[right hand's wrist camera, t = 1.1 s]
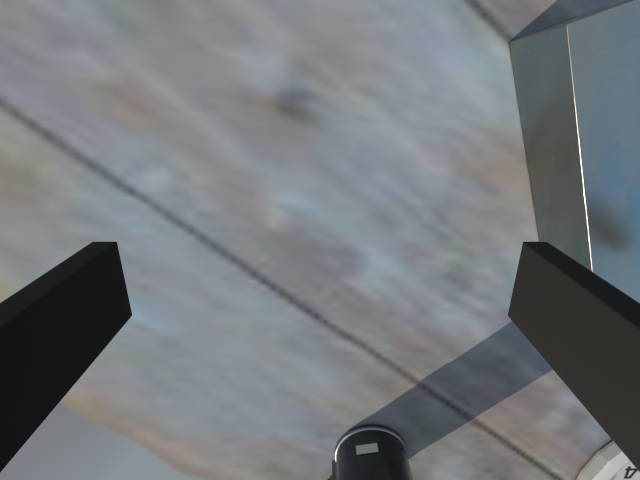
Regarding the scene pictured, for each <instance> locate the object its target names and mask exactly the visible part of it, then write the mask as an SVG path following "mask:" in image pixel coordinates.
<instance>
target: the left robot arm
mask: <svg viewBox="0 0 640 480" xmlns="http://www.w3.org/2000/svg"><path fill="white" fill-rule="evenodd" d="M328 480H413V478H412V474H411V470H410V466H409V462H408V458H407V451H406V446H405V443H404V441H403V439H402V438H401V437H400V435H398V434H397V433H396V432H395V431H393V430H391V429H389V428H386V427H383V426H377V425H367V426H361V427H358V428H355V429H352V430H351V431H349V432H347V433H346V434H345V435H343V436H342V437H341V439H340V440H339V441H338V443H337V445H336V448H335V460H334V461H333V462H332V476H331V477H330V478H329V479H328Z"/></svg>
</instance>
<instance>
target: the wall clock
mask: <svg viewBox="0 0 640 480" xmlns="http://www.w3.org/2000/svg"><path fill="white" fill-rule="evenodd" d="M576 480H640V472H639V471H638V470H637V468H636V467H635V466H634V465H633V464H632V462H631V461H630V460H629V459H628V458H627V457H626V455H625V454H624V453H623V452H622V451H621V449H620V448H619V447H618V446H617V445H616V443H615V442H614V441H612V442H610V443H609V444H608V445H606V446H605V447H604V448H602V449H601V450H599V451H598V452H597V453H596V454H595V456H594V457H593V458H592V459H591V460H590V461H589V462H588V463H587V465H586V466H585V467H584V468H583V469H582V470H581V471H580V473H579V475H578V477H577V479H576Z"/></svg>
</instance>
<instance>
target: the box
mask: <svg viewBox="0 0 640 480" xmlns="http://www.w3.org/2000/svg"><path fill="white" fill-rule="evenodd" d="M509 48H510V55H511V61H512V68H513V74H514V81H515V87H516V94H517V100H518V107H519V114H520V120H521V127H522V133H523V140H524V146H525V153H526V159H527V166H528V172H529V179H530V185H531V192H532V198H533V205H534V211H535V218H536V224H537V231H538V237H539V242H548V243H549V244H551V245H553V246H554V247H556V248H557V249H559V250H560V251H562V252H563V253H565V254H566V255H568V256H569V257H571V258H572V259H574V260H575V261H577V262H578V263H580V264H581V265H583V266H584V267H586V268H587V269H589V270H590V271H592V272H593V273H595V274H596V275H598V276H599V277H601V278H602V279H604V280H605V281H607V282H608V283H610V284H611V285H613V286H614V287H616V288H617V289H619V290H620V291H622V292H623V293H625V294H626V295H628V296H629V297H631V298H632V299H634V300H635V301H637V302H639V303H640V0H628V1H625V2H622V3H619V4H616V5H612V6H609V7H606V8H603V9H600V10H597V11H594V12H591V13H587V14H584V15H581V16H578V17H575V18H573V19H570V20H567V21H564V22H562V23H559V24H556V25H553V26H551V27H548V28H545V29H542V30H540V31H537V32H534V33H531V34H529V35H526V36H523V37H520V38H518V39H515V40H512V41H510V42H509Z"/></svg>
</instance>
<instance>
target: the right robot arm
mask: <svg viewBox="0 0 640 480" xmlns="http://www.w3.org/2000/svg"><path fill="white" fill-rule="evenodd" d="M131 316H132V312H131V308H130V303H129V298H128V293H127V289H126V284H125V279H124V274H123V270H122V265H121V260H120V255H119V250H118V246H117V242H92V243H91V244H89V245H87V246H86V247H84V248H83V249H81V250H80V251H78V252H77V253H75V254H74V255H72V256H71V257H69V258H68V259H66V260H65V261H63V262H62V263H60V264H59V265H57V266H56V267H54V268H53V269H51V270H50V271H48V272H47V273H45V274H44V275H42V276H41V277H39V278H38V279H36V280H35V281H33V282H32V283H30V284H29V285H27V286H26V287H24V288H23V289H21V290H20V291H18V292H17V293H15V294H14V295H12V296H11V297H9V298H8V299H6V300H5V301H3V302H1V303H0V472H1V471H2V470H3V468H4V467H5V466H6V465H7V464H8V462H9V461H10V460H11V459H12V458H13V457H14V455H15V454H16V453H17V452H18V451H19V449H20V448H21V447H22V446H23V445H24V443H25V442H26V441H27V440H28V439H29V437H30V436H31V435H32V434H33V433H34V431H35V430H36V429H37V428H38V427H39V426H40V424H41V423H42V422H43V421H44V420H45V418H46V417H47V416H48V415H49V414H50V412H51V411H52V410H53V409H54V408H55V406H56V405H57V404H58V403H59V402H60V401H61V399H62V398H63V397H64V396H65V395H66V393H67V392H68V391H69V390H70V389H71V387H72V386H73V385H74V384H75V383H76V381H77V380H78V379H79V378H80V377H81V376H82V374H83V373H84V372H85V371H86V370H87V368H88V367H89V366H90V365H91V364H92V362H93V361H94V360H95V359H96V358H97V356H98V355H99V354H100V353H101V352H102V350H103V349H104V348H105V347H106V346H107V345H108V343H109V342H110V341H111V340H112V339H113V337H114V336H115V335H116V334H117V333H118V331H119V330H120V329H121V328H122V327H123V325H124V324H125V323H126V322H127V321H128V320H129V318H130V317H131ZM508 316H509V317H510V318H511V320H512V321H513V322H514V323H515V324H516V325H517V327H518V328H519V329H520V330H521V331H522V333H523V334H524V335H525V336H526V337H527V339H528V340H529V341H530V342H531V343H532V345H533V346H534V347H535V348H536V349H537V350H538V352H539V353H540V354H541V355H542V356H543V358H544V359H545V360H546V361H547V362H548V364H549V365H550V366H551V367H552V368H553V370H554V371H555V372H556V373H557V374H558V376H559V377H560V378H561V379H562V380H563V381H564V383H565V384H566V385H567V386H568V387H569V389H570V390H571V391H572V392H573V393H574V395H575V396H576V397H577V398H578V399H579V401H580V402H581V403H582V404H583V405H584V406H585V408H586V409H587V410H588V411H589V412H590V414H591V415H592V416H593V417H594V418H595V420H596V421H597V422H598V423H599V424H600V426H601V427H602V428H603V429H604V430H605V431H606V433H607V434H608V435H609V436H610V437H611V439H612V440H613V441H614V442H615V443H616V445H617V446H618V447H619V448H620V449H621V451H622V452H623V453H624V454H625V455H626V457H627V458H628V459H629V460H630V461H631V462H632V464H633V465H634V466H635V467H636V468H637V470H638V471H639V472H640V303H639V302H637V301H635V300H634V299H632V298H631V297H629V296H628V295H626V294H625V293H623V292H622V291H620V290H619V289H617V288H616V287H614V286H613V285H611V284H610V283H608V282H607V281H605V280H604V279H602V278H601V277H599V276H598V275H596V274H595V273H593V272H592V271H590V270H589V269H587V268H586V267H584V266H583V265H581V264H580V263H578V262H577V261H575V260H574V259H572V258H571V257H569V256H568V255H566V254H565V253H563V252H562V251H560V250H559V249H557V248H556V247H554V246H553V245H551V244H549V243H548V242H523V246H522V250H521V255H520V260H519V265H518V270H517V274H516V279H515V284H514V289H513V293H512V298H511V303H510V308H509V312H508Z"/></svg>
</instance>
